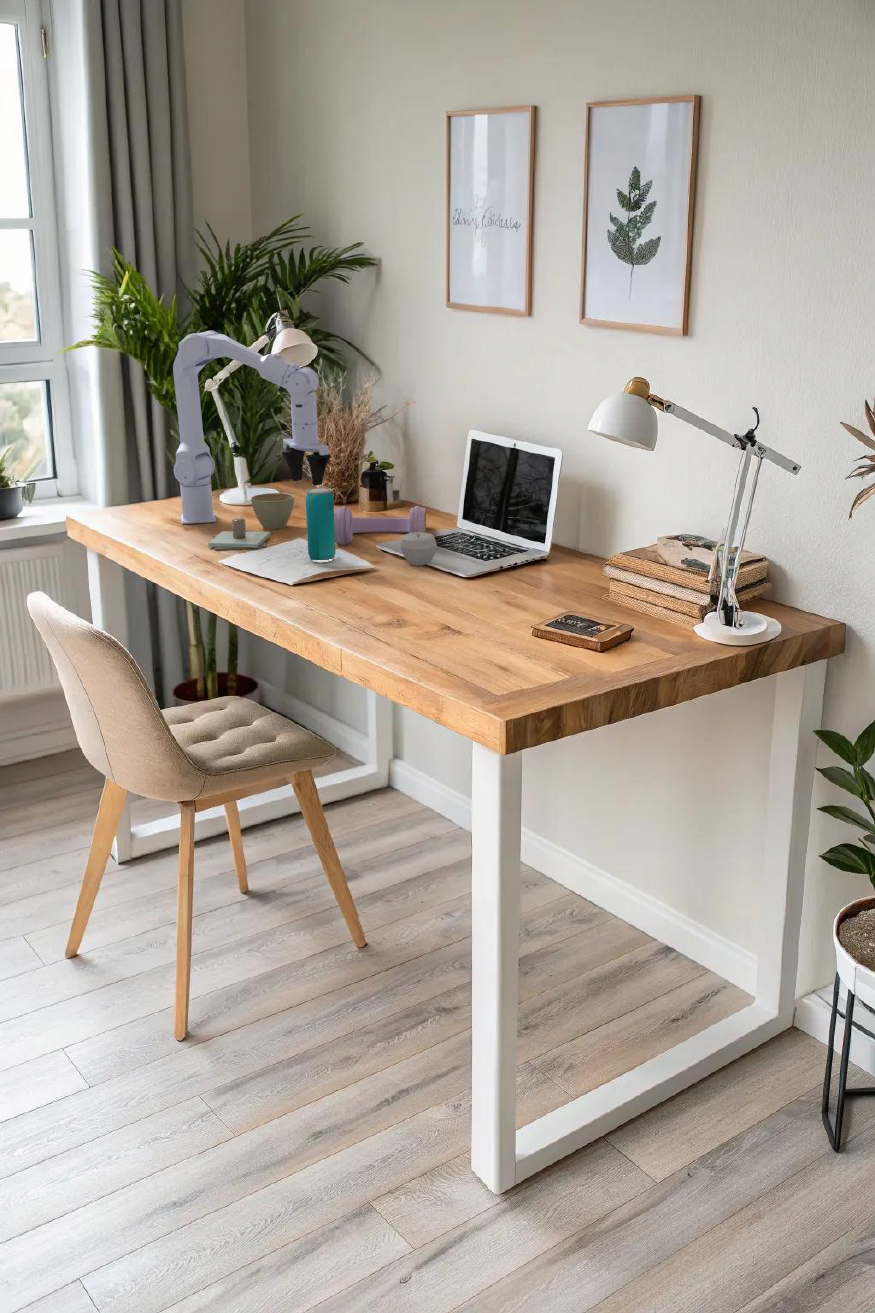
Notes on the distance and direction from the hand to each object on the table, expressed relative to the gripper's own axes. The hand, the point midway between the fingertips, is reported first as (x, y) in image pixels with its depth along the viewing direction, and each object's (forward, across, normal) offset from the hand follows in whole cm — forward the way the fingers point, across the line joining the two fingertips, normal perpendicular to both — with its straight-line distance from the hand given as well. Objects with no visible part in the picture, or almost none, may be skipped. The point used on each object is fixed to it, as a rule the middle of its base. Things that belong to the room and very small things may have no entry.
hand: (307, 482), depth 287 cm
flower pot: (+11, -6, -6) cm, 13 cm away
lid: (+10, +1, -20) cm, 22 cm away
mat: (+10, +1, -20) cm, 23 cm away
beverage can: (+11, +26, -17) cm, 33 cm away
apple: (+11, +43, -4) cm, 44 cm away
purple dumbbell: (+11, +20, +6) cm, 23 cm away
